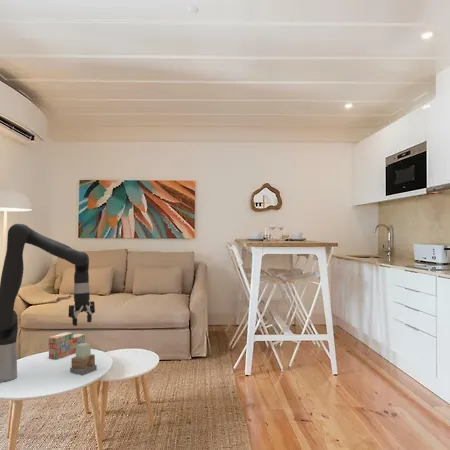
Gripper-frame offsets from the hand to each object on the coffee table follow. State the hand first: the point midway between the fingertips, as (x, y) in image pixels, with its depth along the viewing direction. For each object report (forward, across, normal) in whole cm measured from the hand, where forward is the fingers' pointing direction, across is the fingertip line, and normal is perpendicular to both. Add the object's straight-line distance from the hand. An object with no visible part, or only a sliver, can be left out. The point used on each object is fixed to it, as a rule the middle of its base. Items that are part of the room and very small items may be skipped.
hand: (82, 323), depth 208 cm
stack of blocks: (+24, -16, -34) cm, 45 cm away
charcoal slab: (+24, 0, 0) cm, 24 cm away
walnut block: (+21, 0, 0) cm, 21 cm away
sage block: (+16, 0, 0) cm, 16 cm away
